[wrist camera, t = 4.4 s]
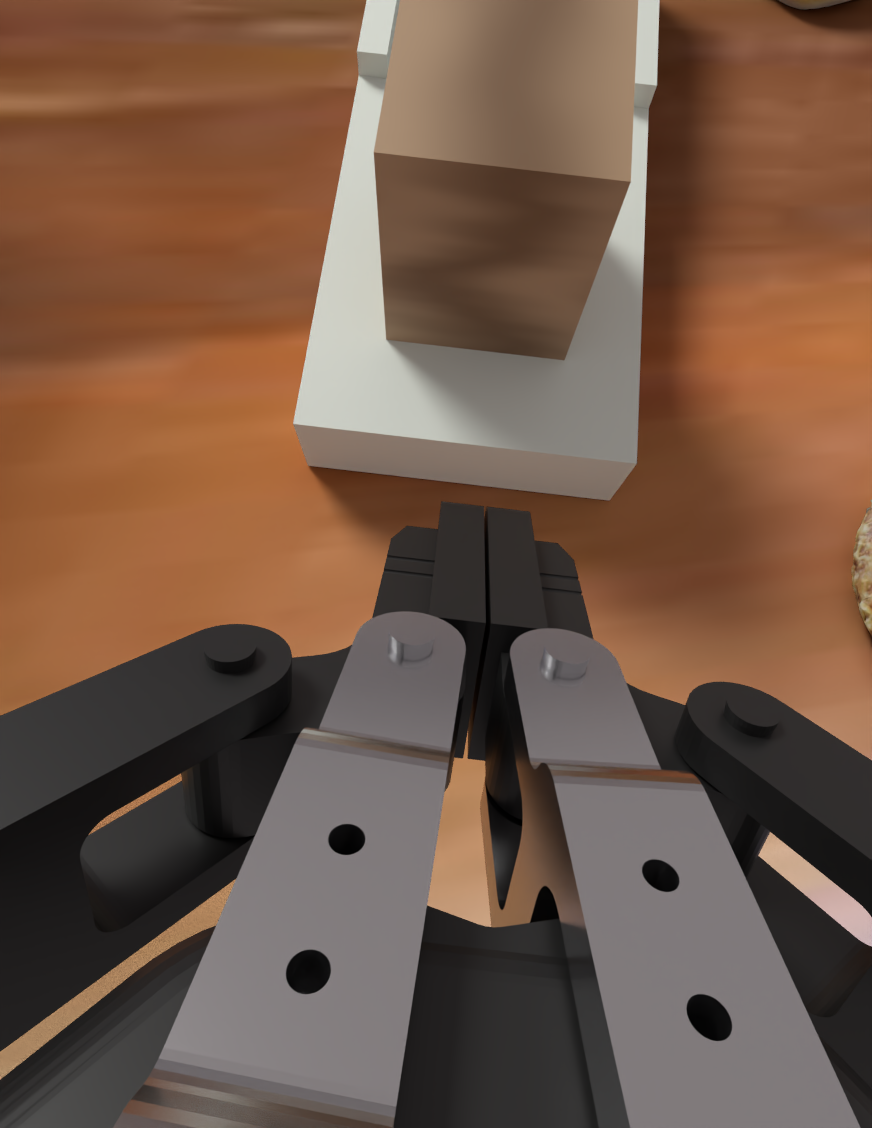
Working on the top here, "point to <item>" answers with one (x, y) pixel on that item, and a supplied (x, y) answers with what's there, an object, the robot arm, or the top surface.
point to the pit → (383, 21)
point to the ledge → (469, 362)
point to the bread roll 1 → (811, 3)
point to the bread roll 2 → (864, 569)
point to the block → (501, 167)
